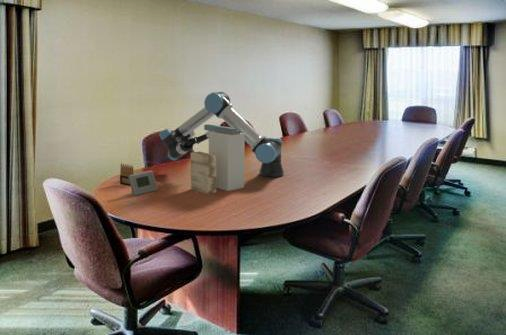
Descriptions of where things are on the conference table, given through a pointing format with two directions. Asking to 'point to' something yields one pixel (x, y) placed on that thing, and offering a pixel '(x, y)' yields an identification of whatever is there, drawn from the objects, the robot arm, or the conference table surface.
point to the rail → (211, 128)
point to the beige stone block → (203, 172)
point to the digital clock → (142, 183)
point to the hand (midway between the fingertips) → (203, 131)
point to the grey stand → (228, 158)
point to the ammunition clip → (125, 174)
